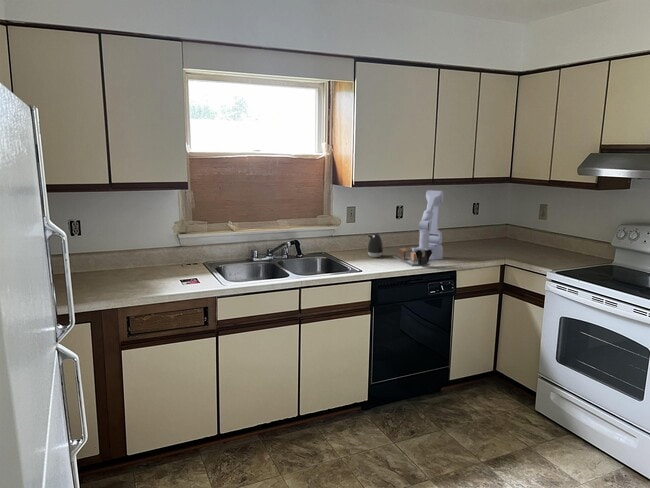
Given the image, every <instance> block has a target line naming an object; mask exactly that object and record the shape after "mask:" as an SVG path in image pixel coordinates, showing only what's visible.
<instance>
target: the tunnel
mask: <svg viewBox="0 0 650 488" xmlns="http://www.w3.org/2000/svg"><path fill="white" fill-rule="evenodd" d="M412 248H416V247H413V246H411V247H399V248H398V250H397V255H398V258H400V259H402V260H405V255H407V253H409V252H410V253H411V252H413V251H412ZM406 252H407V253H406Z"/></svg>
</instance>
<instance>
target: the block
mask: <svg viewBox="0 0 650 488" xmlns="http://www.w3.org/2000/svg"><path fill="white" fill-rule="evenodd" d="M410 255H411V257H410V259H412V260H418V258H417V255H416V253H415V252H413V251H410Z"/></svg>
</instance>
